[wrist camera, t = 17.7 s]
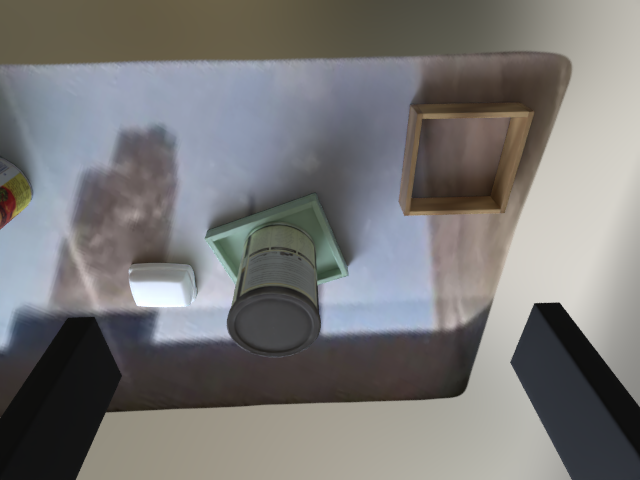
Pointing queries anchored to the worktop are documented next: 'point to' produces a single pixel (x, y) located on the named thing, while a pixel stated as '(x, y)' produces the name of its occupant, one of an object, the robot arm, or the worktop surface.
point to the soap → (162, 284)
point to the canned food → (12, 192)
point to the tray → (298, 212)
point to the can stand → (506, 167)
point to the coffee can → (276, 292)
